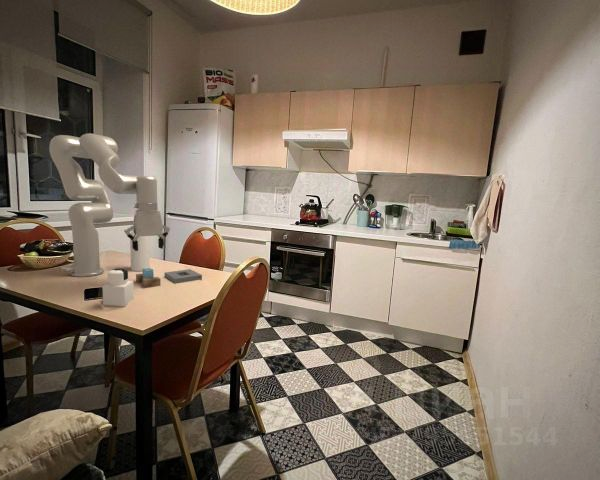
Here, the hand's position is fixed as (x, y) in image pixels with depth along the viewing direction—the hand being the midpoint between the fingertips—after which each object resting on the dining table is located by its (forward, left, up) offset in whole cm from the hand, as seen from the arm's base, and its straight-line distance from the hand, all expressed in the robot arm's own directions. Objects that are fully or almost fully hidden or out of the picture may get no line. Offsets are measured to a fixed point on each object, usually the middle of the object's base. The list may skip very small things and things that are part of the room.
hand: (148, 249), depth 129 cm
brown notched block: (0, +1, -15) cm, 15 cm away
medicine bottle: (-15, -15, -15) cm, 27 cm away
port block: (+15, +1, -15) cm, 21 cm away
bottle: (+5, +27, -15) cm, 31 cm away
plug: (0, +1, -15) cm, 15 cm away
